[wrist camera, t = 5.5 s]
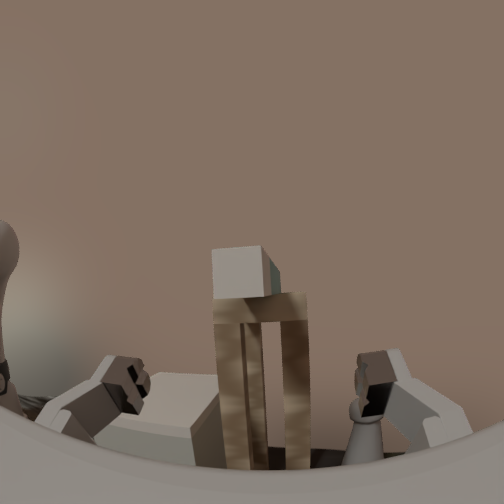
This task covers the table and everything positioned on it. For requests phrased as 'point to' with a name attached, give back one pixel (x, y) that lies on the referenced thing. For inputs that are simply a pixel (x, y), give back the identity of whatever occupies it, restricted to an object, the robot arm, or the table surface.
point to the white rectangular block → (173, 423)
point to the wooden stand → (262, 378)
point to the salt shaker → (363, 438)
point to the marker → (244, 273)
